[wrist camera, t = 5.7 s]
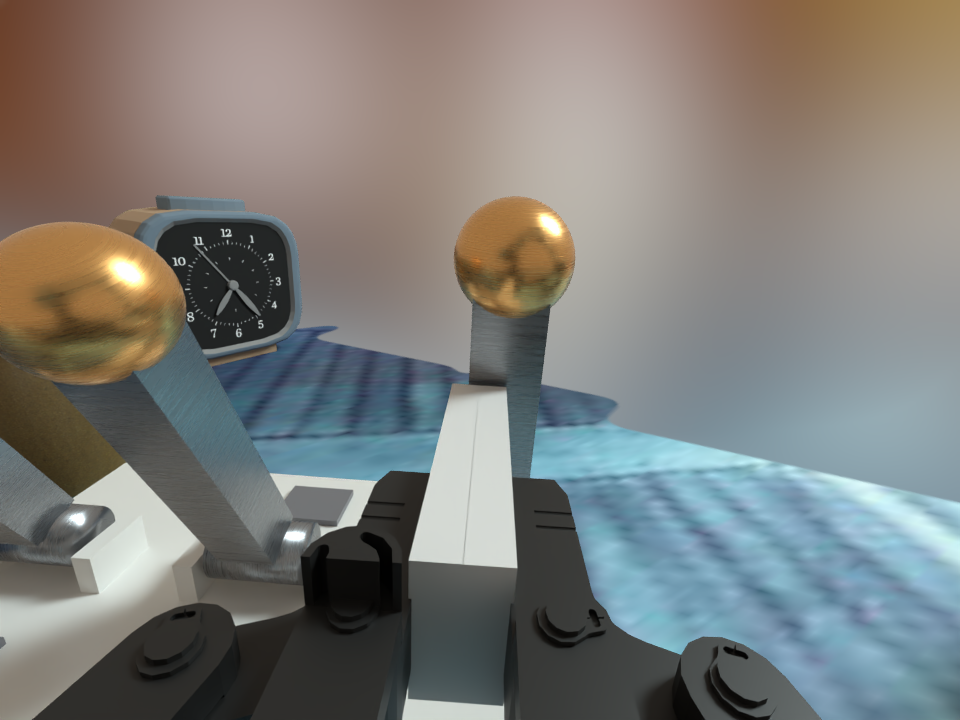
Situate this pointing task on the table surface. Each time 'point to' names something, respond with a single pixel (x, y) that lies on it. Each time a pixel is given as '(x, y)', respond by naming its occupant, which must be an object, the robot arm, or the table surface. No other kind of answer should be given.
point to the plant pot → (52, 432)
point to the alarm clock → (225, 271)
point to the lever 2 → (513, 304)
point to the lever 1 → (42, 515)
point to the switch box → (150, 590)
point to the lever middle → (146, 388)
